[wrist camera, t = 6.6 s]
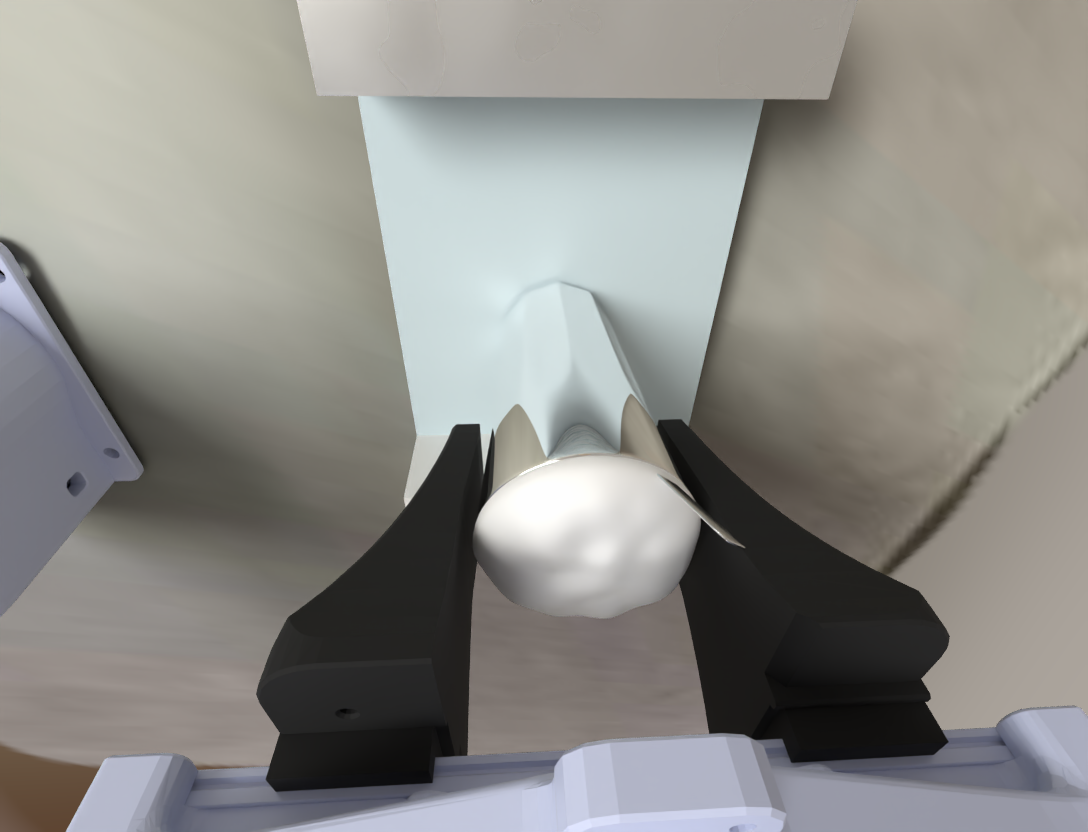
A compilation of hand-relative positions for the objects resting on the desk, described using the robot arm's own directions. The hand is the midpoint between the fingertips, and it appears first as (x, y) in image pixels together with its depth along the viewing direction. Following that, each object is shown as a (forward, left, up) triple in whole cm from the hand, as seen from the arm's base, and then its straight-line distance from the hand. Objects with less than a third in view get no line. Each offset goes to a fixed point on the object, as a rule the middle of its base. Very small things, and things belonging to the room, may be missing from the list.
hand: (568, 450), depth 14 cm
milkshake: (+2, 0, -4) cm, 5 cm away
